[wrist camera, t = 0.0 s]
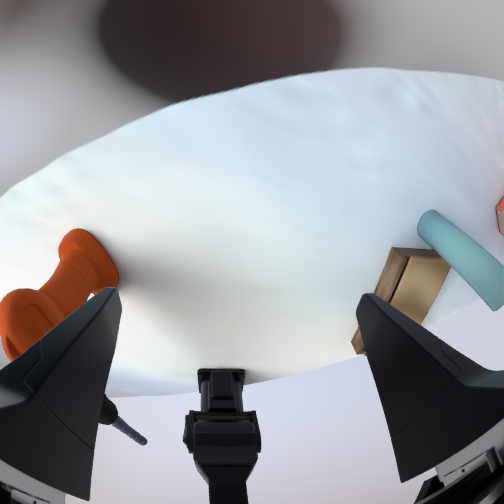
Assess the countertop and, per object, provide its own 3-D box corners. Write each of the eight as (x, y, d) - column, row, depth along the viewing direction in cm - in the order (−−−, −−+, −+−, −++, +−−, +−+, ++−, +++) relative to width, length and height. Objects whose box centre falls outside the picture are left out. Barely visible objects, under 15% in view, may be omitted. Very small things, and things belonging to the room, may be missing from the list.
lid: (403, 346, 33) (413, 364, 30) (363, 353, 32) (372, 373, 29) (451, 257, 25) (468, 274, 22) (411, 255, 24) (429, 275, 22)
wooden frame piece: (400, 335, 36) (406, 346, 33) (351, 341, 34) (356, 354, 32) (442, 250, 28) (453, 260, 26) (391, 247, 27) (402, 259, 25)
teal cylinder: (433, 239, 27) (502, 309, 16) (413, 237, 26) (485, 313, 15) (443, 212, 25) (520, 276, 14) (423, 208, 25) (506, 277, 14)
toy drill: (149, 363, 31) (122, 466, 17) (61, 237, 23) (-32, 319, 10) (181, 355, 30) (161, 468, 17) (90, 217, 23) (-14, 302, 9)
